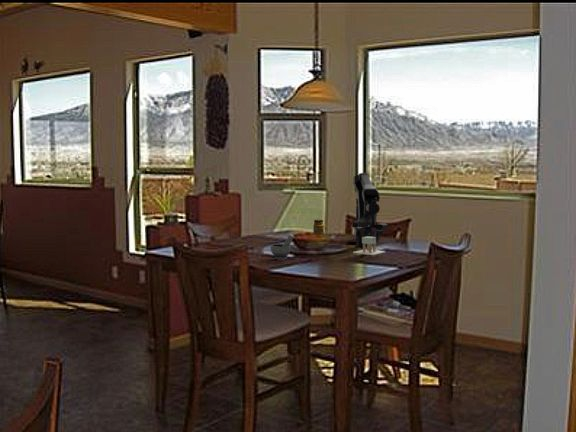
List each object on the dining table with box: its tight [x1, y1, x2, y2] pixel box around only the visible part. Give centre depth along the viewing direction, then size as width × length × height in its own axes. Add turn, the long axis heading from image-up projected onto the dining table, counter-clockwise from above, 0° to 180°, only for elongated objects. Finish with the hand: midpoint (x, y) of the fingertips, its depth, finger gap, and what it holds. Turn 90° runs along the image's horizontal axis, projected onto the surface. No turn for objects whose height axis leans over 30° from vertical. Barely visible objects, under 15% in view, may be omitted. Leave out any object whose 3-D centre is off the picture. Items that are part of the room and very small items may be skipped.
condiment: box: [312, 219, 325, 234], centre depth 404 cm, size 7×8×12 cm
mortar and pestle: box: [270, 234, 294, 261], centre depth 340 cm, size 11×9×12 cm
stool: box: [362, 236, 377, 253], centre depth 360 cm, size 6×6×8 cm
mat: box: [353, 248, 386, 256], centre depth 360 cm, size 12×12×1 cm
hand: (369, 242), depth 360 cm, fingers open, 9 cm apart
